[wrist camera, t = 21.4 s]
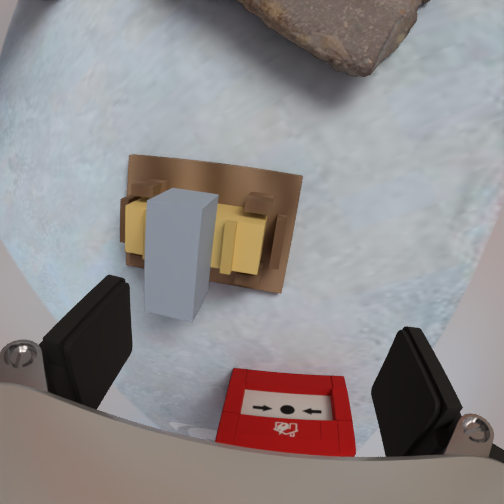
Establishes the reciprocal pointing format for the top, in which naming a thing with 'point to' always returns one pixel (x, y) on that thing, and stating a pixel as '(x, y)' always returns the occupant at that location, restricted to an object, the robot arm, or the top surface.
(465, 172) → the top surface
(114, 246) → the top surface
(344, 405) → the fire alarm
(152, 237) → the grey rectangular block
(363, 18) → the stone slab
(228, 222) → the tan toy brick
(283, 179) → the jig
